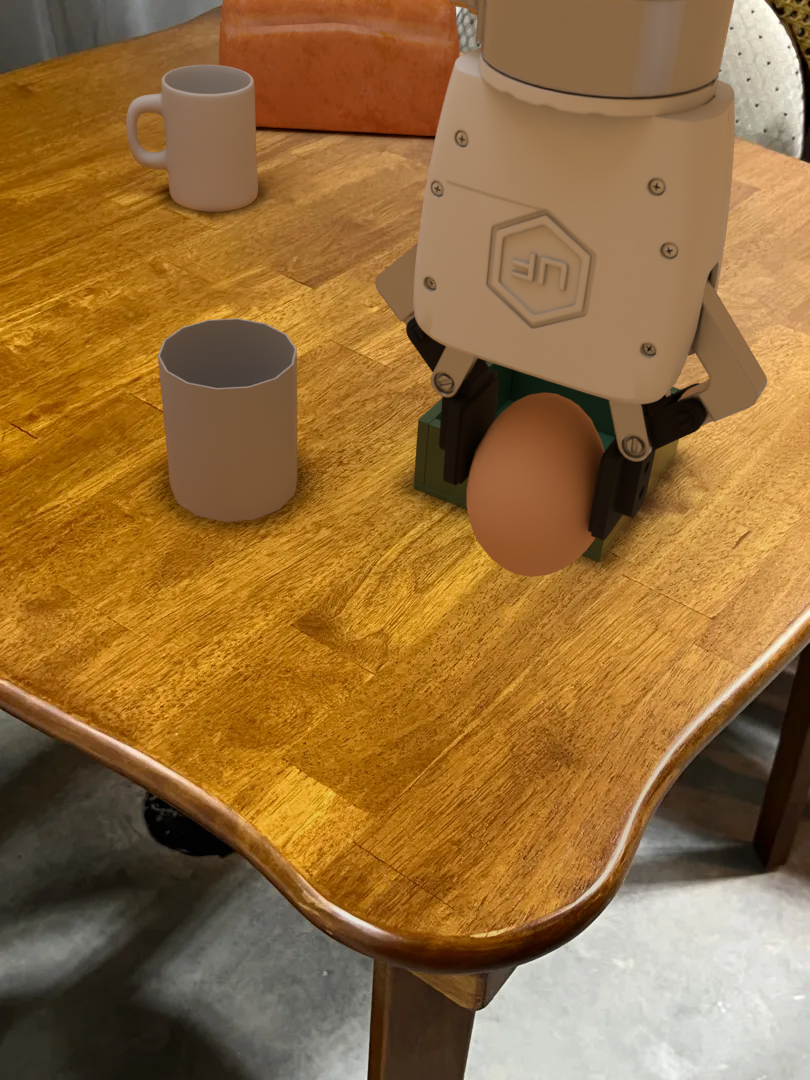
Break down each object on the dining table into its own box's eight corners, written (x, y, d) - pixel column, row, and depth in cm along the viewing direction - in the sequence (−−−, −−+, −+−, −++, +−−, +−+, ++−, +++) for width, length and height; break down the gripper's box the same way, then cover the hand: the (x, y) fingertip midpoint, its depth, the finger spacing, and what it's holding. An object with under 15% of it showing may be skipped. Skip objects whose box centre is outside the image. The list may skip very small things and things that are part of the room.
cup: (145, 482, 77) (130, 350, 70) (236, 432, 82) (230, 305, 75) (232, 539, 73) (225, 405, 66) (323, 483, 78) (324, 353, 71)
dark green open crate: (674, 459, 82) (691, 392, 78) (599, 563, 73) (613, 492, 69) (503, 398, 87) (512, 332, 83) (412, 488, 78) (417, 419, 74)
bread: (230, 87, 136) (223, -61, 125) (452, 99, 136) (464, -47, 126) (215, 130, 125) (207, -27, 115) (456, 143, 126) (469, -12, 116)
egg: (479, 616, 47) (497, 447, 42) (446, 529, 51) (459, 366, 46) (612, 601, 48) (647, 434, 43) (569, 517, 52) (596, 356, 47)
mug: (257, 176, 116) (253, 64, 109) (259, 212, 110) (256, 95, 103) (135, 177, 114) (123, 62, 107) (130, 213, 108) (118, 94, 101)
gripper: (304, 7, 36) (310, 471, 48) (853, 122, 30) (709, 625, 42) (421, -38, 42) (401, 391, 53) (910, 53, 35) (768, 517, 47)
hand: (537, 490), depth 47 cm, fingers closed on egg, 5 cm apart
